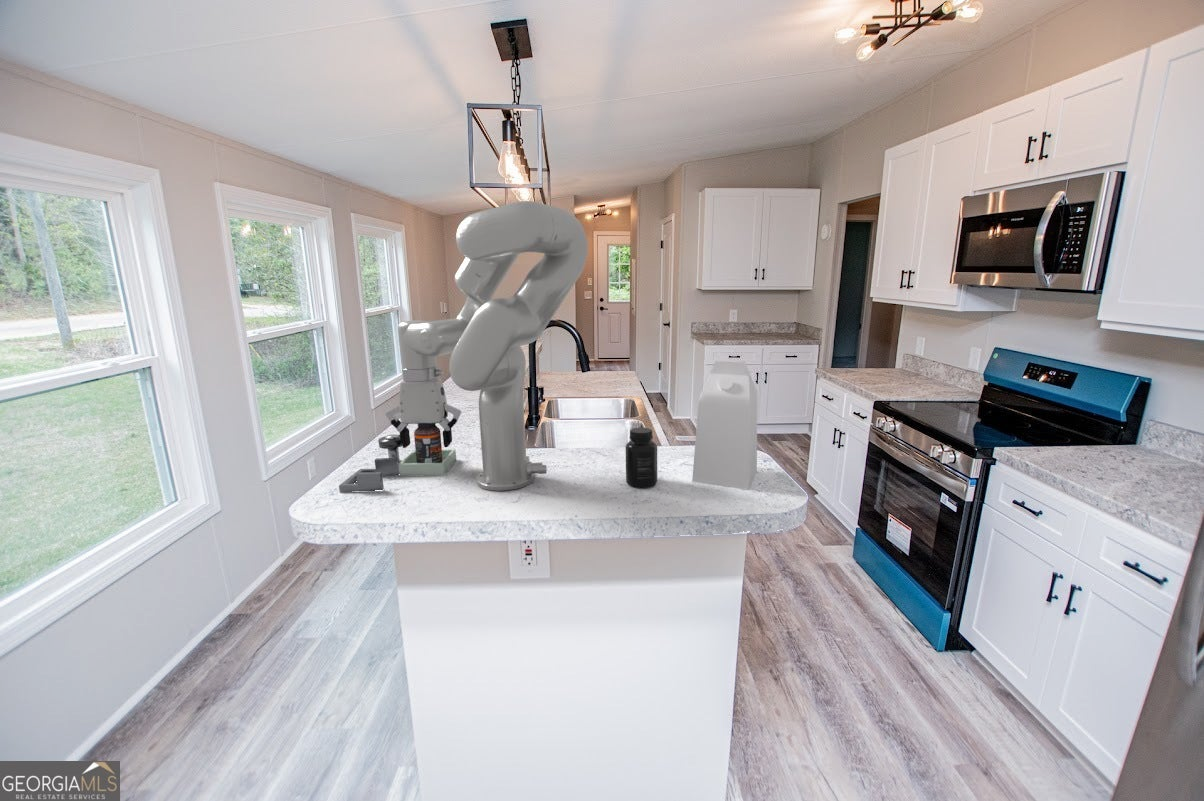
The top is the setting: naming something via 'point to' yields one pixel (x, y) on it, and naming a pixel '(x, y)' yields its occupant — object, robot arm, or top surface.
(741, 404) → the milk
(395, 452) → the pulley
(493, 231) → the robot arm
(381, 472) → the bracket
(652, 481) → the supplement bottle
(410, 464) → the tray
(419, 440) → the supplement bottle
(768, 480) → the top surface
